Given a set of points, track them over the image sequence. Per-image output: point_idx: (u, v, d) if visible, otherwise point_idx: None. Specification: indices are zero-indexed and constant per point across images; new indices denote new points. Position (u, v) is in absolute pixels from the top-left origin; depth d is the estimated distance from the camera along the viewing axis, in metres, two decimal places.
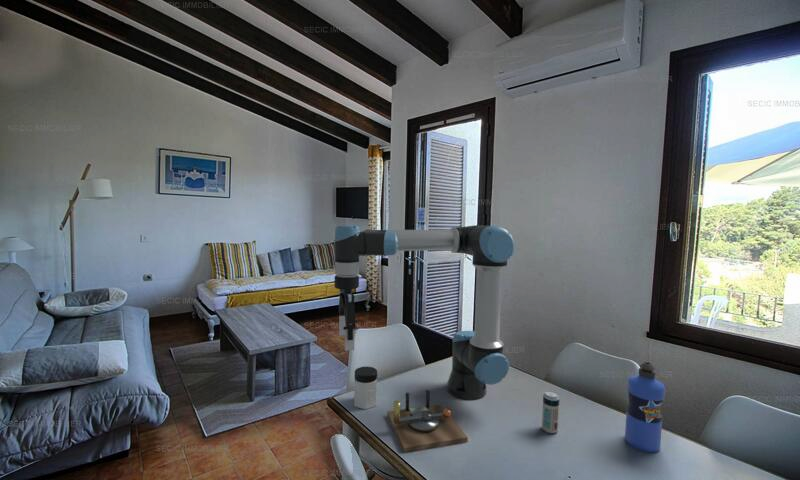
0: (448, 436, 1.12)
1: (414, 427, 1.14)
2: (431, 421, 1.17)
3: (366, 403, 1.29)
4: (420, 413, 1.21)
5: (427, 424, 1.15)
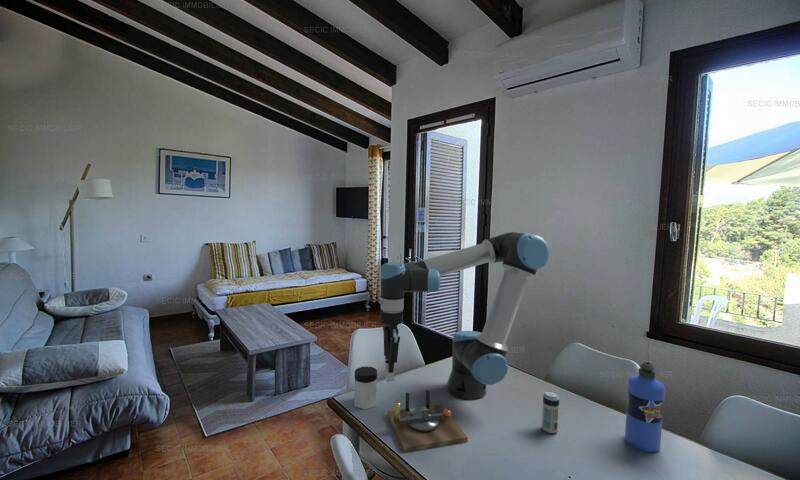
0: (448, 436, 1.12)
1: (414, 427, 1.14)
2: (431, 421, 1.17)
3: (366, 403, 1.29)
4: (420, 413, 1.21)
5: (427, 424, 1.15)
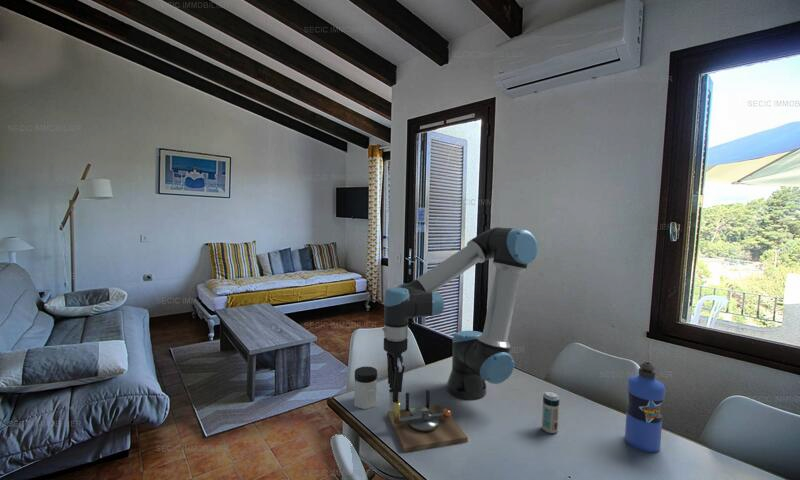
0: (448, 436, 1.12)
1: (414, 427, 1.14)
2: (431, 421, 1.17)
3: (366, 403, 1.29)
4: (420, 413, 1.21)
5: (427, 424, 1.15)
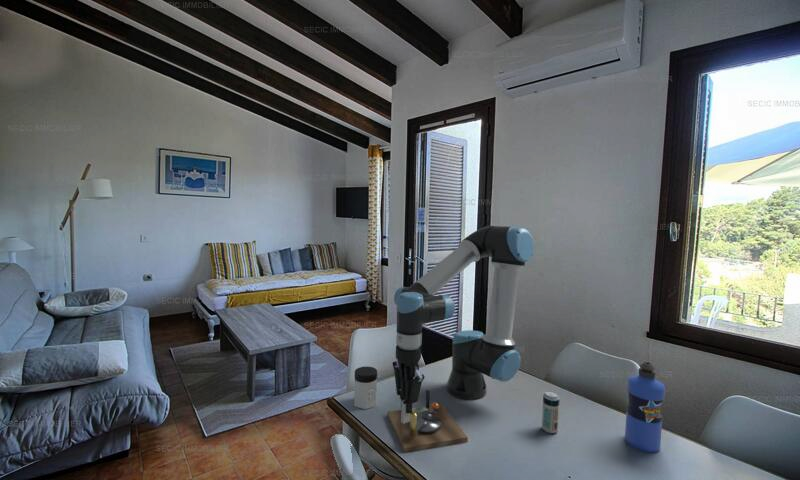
0: (448, 436, 1.12)
1: (429, 430, 1.12)
2: (433, 418, 1.18)
3: (366, 403, 1.29)
4: None
5: (434, 422, 1.16)
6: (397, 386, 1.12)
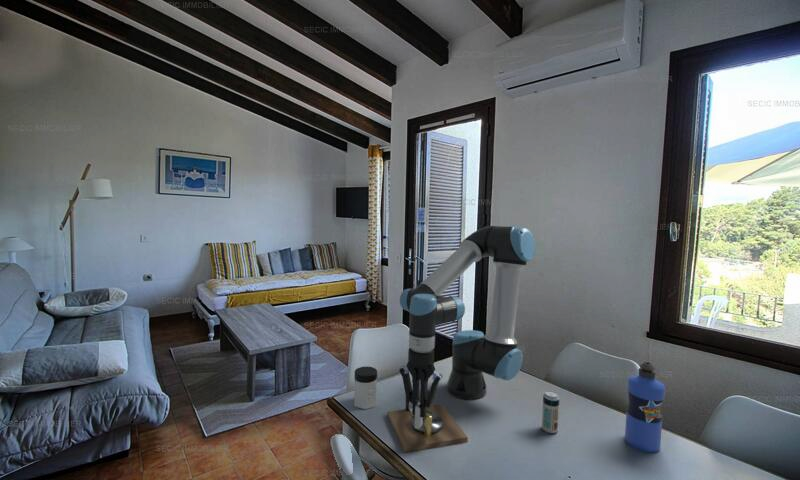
0: (448, 436, 1.12)
1: (437, 429, 1.13)
2: (432, 417, 1.19)
3: (366, 403, 1.29)
4: None
5: (436, 420, 1.17)
6: (407, 392, 1.08)
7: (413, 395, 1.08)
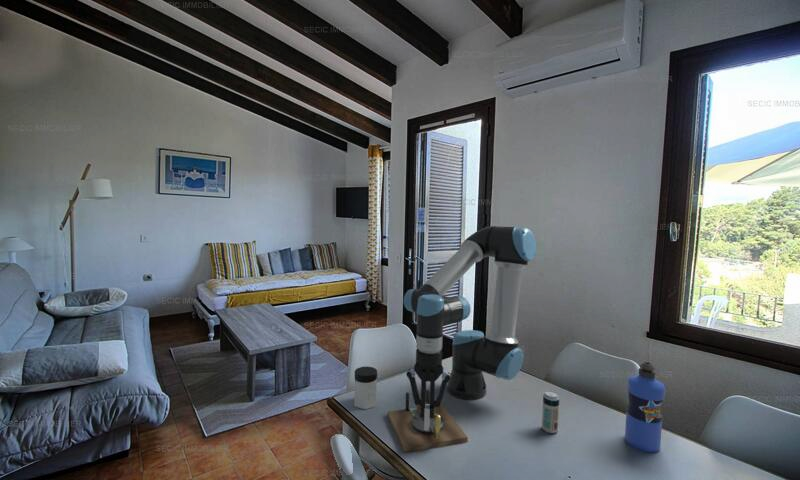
0: (448, 436, 1.12)
1: (441, 427, 1.14)
2: None
3: (366, 403, 1.29)
4: (417, 421, 1.17)
5: None
6: (415, 396, 1.07)
7: (422, 397, 1.07)
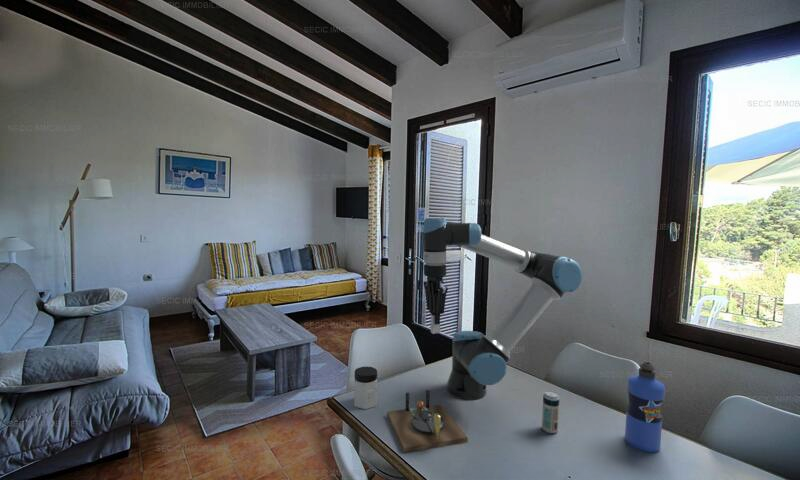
0: (448, 436, 1.12)
1: (441, 427, 1.14)
2: (431, 416, 1.20)
3: (366, 403, 1.29)
4: (417, 421, 1.17)
5: None
6: (427, 302, 1.28)
7: (429, 304, 1.26)
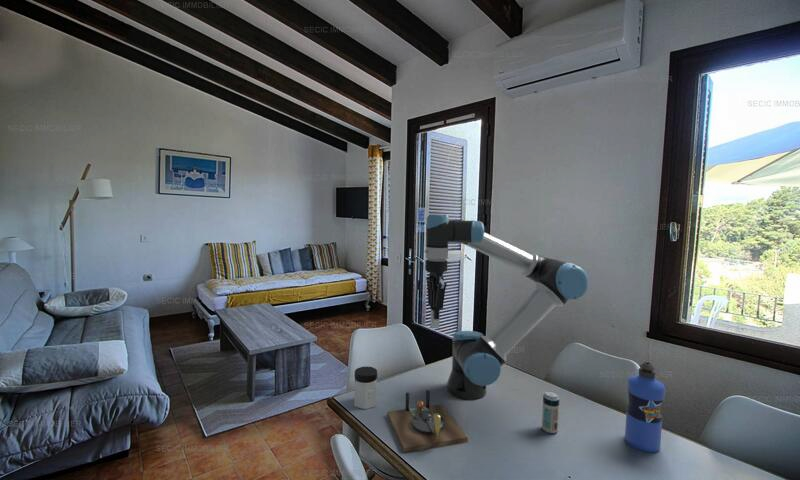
0: (448, 436, 1.12)
1: (441, 427, 1.14)
2: (431, 416, 1.20)
3: (366, 403, 1.29)
4: (417, 421, 1.17)
5: None
6: (428, 297, 1.30)
7: (430, 299, 1.28)
